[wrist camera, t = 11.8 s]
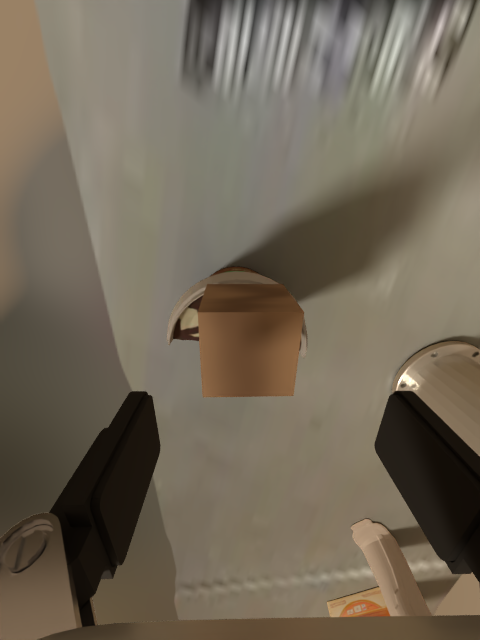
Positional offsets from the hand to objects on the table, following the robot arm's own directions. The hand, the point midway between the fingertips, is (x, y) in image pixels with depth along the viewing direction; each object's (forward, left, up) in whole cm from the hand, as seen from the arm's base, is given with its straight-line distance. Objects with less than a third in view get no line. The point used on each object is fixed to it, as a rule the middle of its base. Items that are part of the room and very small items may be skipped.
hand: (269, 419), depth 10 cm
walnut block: (0, 0, -10) cm, 10 cm away
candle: (-27, +54, -20) cm, 64 cm away
